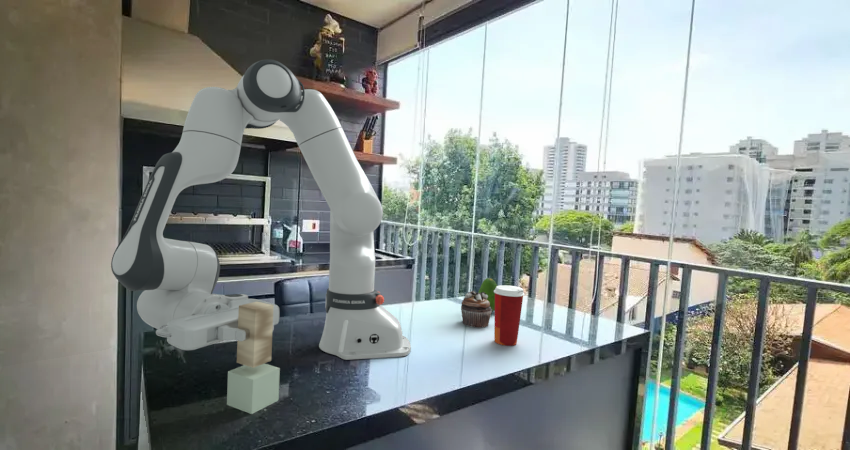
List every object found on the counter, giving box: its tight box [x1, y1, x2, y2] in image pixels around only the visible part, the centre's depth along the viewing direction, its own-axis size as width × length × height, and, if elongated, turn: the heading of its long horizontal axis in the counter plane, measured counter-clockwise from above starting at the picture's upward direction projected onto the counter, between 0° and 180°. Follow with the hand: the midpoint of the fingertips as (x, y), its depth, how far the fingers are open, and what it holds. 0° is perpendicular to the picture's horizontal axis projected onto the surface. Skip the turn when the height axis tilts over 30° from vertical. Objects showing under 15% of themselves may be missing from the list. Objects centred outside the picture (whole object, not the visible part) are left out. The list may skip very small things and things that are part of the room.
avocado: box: [477, 277, 498, 312], centre depth 150 cm, size 8×8×12 cm
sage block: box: [226, 363, 281, 415], centre depth 77 cm, size 6×6×6 cm
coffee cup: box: [493, 284, 525, 347], centre depth 119 cm, size 8×8×15 cm
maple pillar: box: [236, 302, 274, 368], centre depth 76 cm, size 4×4×10 cm
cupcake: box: [460, 290, 493, 329], centre depth 135 cm, size 10×10×10 cm
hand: (259, 331), depth 76 cm, fingers closed on maple pillar, 4 cm apart
